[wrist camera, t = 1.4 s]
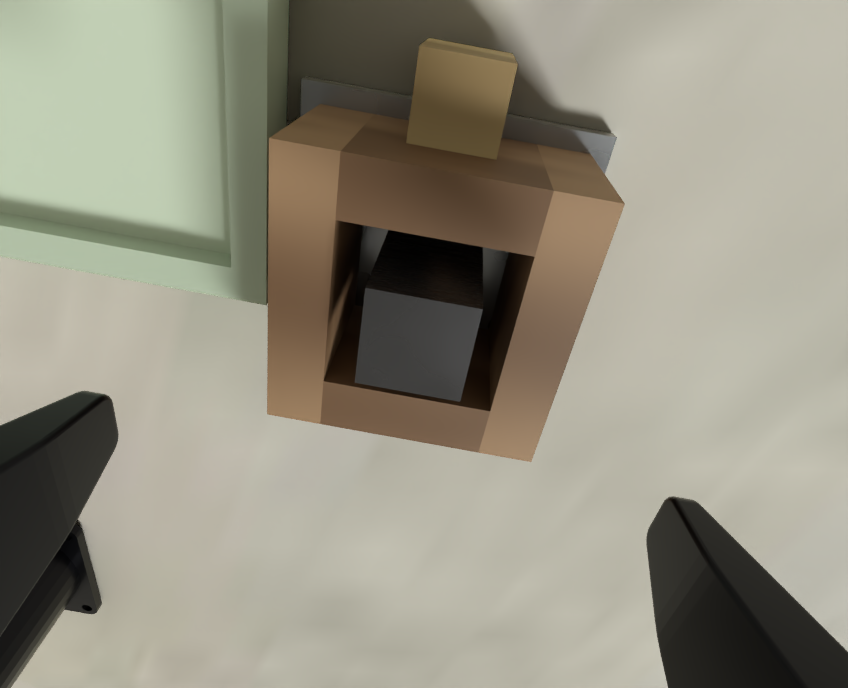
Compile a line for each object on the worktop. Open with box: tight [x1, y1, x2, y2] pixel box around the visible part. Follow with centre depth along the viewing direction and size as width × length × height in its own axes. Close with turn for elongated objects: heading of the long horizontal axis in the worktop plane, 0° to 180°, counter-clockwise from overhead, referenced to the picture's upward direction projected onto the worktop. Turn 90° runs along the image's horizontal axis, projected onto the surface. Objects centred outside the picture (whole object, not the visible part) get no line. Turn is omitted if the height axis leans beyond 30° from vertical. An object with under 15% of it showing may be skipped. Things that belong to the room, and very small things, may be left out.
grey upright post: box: [300, 77, 617, 402], centre depth 14 cm, size 8×8×6 cm
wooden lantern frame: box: [267, 38, 624, 462], centre depth 14 cm, size 9×7×4 cm
